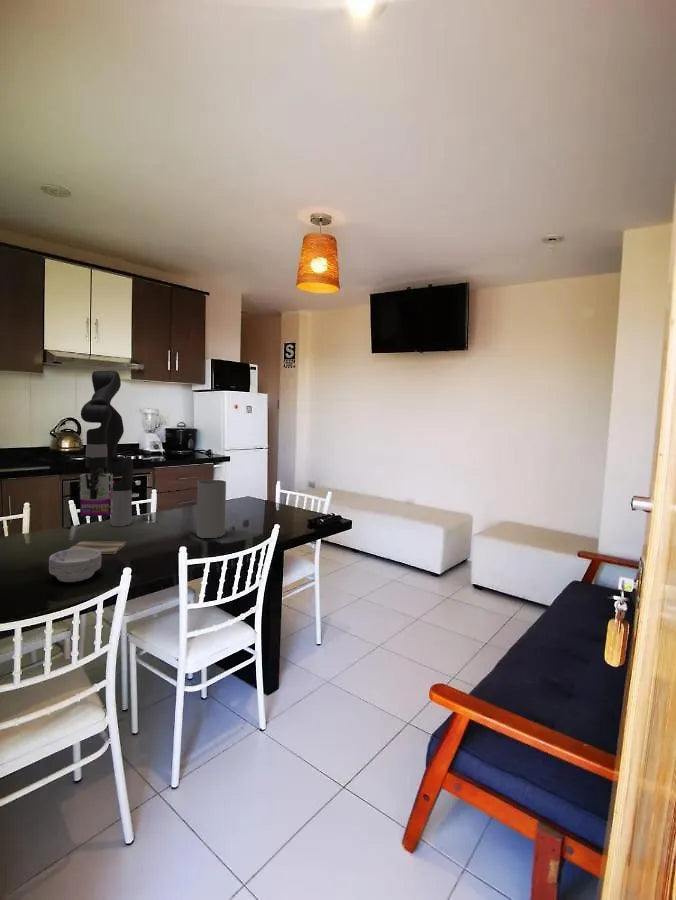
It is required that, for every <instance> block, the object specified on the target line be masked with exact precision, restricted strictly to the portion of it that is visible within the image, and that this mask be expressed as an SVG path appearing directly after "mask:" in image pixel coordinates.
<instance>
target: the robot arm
mask: <svg viewBox="0 0 676 900" xmlns="http://www.w3.org/2000/svg"><path fill="white" fill-rule="evenodd" d="M91 382H92V387H93V390H94V393H93V395H92V397H91V399H90V400H88V401H87V402H86V403H85V404H83V406H82V408H81V410H80V417H81V419H82V421H84V422H85V423H93V424H96V423H97V424H100V426H99V427H96V428H89V429H88V430H86V446H85V467H86V468H87V469H90V470H89V473H85V474H86V483H87V489H89V490H90V499H97V490H96V489H97V485H98V484H99V476H100V475H101V474H113V477H114V476H115V477H121V480H119V481H117V482H113V514H111V515H110V526H111V525H112V527H126V525H128V526H130V524H131V523H132V524H133V522H132V515H133V514H132V512H133V511H132V510H133V509H132V508H133V503H132V502H133V498H132V497H133V495H132V492H133V491H132V490H133V488H132V487H133V482H134V481H133V479H134V461H133V459H132V458H131V457H129V456H118V455H117V446H118V445H119V443H120V441H121V438H122V437H123V435H124V432H125V430H124V422H123V418H122V416H121V413H119V412H118V411H117V409H116V408H115V407H114V406H113V405H112V404H111V402H112V400H113V399H114V397H115V396H116V394H117V393H118V392H119V390H120V389H121V386H122V384H121V376H120V373H119V372H118V371H116V370H96V371H95V370H94V371H93V372H92V373H91ZM104 468H106V469H104ZM97 475H98V476H97ZM94 480H97V481H96V482H94ZM89 483H90V485H89ZM132 524H131V525H132Z"/></svg>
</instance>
